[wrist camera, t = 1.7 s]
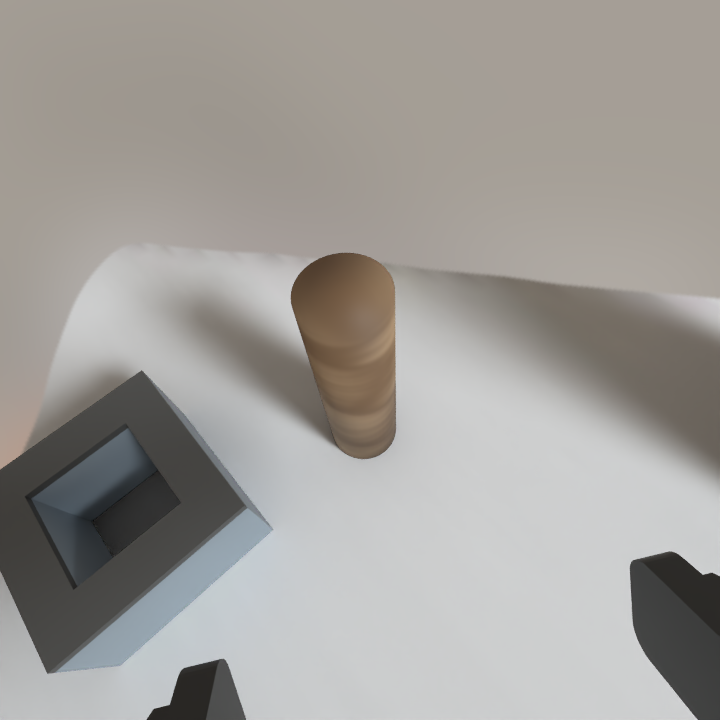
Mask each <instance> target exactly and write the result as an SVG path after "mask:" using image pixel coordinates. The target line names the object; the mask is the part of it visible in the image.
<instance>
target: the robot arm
mask: <svg viewBox="0 0 720 720" xmlns="http://www.w3.org/2000/svg"><path fill="white" fill-rule="evenodd" d="M630 580H631V598H632V616H633V626H634V630H635V633H636V636H637V639H638V641H639V643H640V645H641V647H642V649H643V651H644V653H645V654H646V656H647V657H648V659H649V660H650V661H651V662H652V664H653V665H654V666H655V667H656V669H657V670H658V671H659V672H660V674H661V675H662V676H663V677H664V679H665V680H666V681H667V682H668V683H669V685H670V686H671V687H672V688H673V690H674V691H675V692H676V693H677V695H678V696H679V697H680V698H681V700H682V701H683V702H684V703H685V705H686V706H687V707H688V708H689V709H690V711H691V712H692V713H693V714H694V716H695V717H696V718H697V719H698V720H720V576H718V575H716V574H714V573H709V574H705V575H702V574H701V573H700V572H699V571H697V570H696V569H695V568H694V567H693V566H692V565H690V564H689V563H688V562H687V561H686V560H685V559H683V558H682V557H681V556H680V555H678V554H677V553H675V552H665V553H661V554H657V555H653V556H649V557H645V558H641V559H637V560H633V561H632V562H631V565H630ZM147 720H246V718H245V715H244V712H243V709H242V706H241V703H240V700H239V697H238V693H237V690H236V687H235V684H234V681H233V678H232V675H231V672H230V669H229V666H228V664H227V662H226V661H225V660H224V659H220V660H216V661H211V662H207V663H203V664H199V665H195V666H191V667H187V668H184V669H182V671H181V672H180V674H179V676H178V679H177V683H176V686H175V689H174V693H173V696H172V700H171V703H170V705H168V706H164V707H160V708H156V709H154V710H153V711H152V713H151V714H150V715H149V717H148V718H147Z"/></svg>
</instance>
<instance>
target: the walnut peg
mask: <svg viewBox="0 0 720 720" xmlns="http://www.w3.org/2000/svg"><path fill="white" fill-rule="evenodd" d="M291 304H292V308H293V311H294V314H295V318H296V321H297V324H298V327H299V330H300V333H301V336H302V340H303V343H304V346H305V349H306V352H307V355H308V358H309V362H310V365H311V368H312V371H313V374H314V377H315V380H316V383H317V387H318V390H319V393H320V396H321V399H322V402H323V405H324V409H325V412H326V415H327V418H328V421H329V424H330V427H331V431H332V434H333V437H334V440H335V442H336V444H337V446H338V447H339V448H340V449H341V450H342V451H343V452H344V453H346V454H347V455H349V456H351V457H354V458H358V459H369V458H373V457H376V456H378V455H380V454H382V453H383V452H385V451H386V450H387V449H388V448H389V446H390V445H391V444H392V442H393V440H394V437H395V432H396V383H395V287H394V282H393V280H392V277H391V275H390V274H389V272H388V271H387V270H386V268H385V267H384V266H382V265H381V264H380V263H379V262H377V261H376V260H374V259H372V258H370V257H367V256H364V255H360V254H354V253H338V254H332V255H328V256H325V257H322V258H320V259H318V260H316V261H314V262H313V263H311V264H310V265H308V266H307V267H306V268H305V269H304V270H303V271H302V272H301V273H300V274H299V275H298V277H297V278H296V280H295V282H294V284H293V287H292V291H291Z"/></svg>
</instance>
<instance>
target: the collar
mask: <svg viewBox="0 0 720 720" xmlns="http://www.w3.org/2000/svg"><path fill="white" fill-rule="evenodd" d="M157 470H159V472H160V473H161V475H162V476H163V478H164V479H165V480H166V482H167V483H168V485H169V486H170V488H171V489H172V491H173V492H174V493H175V495H176V496H177V498H178V499H179V501H180V502H181V503H180V504H179V505H177V506H176V507H175V508H174V509H173V510H171V511H170V512H169V513H168V514H166V515H165V516H164V517H163V518H161V519H160V520H159V521H158V522H157V523H155V524H154V525H153V526H152V527H150V528H149V529H148V530H147V531H145V532H144V533H143V534H142V535H141V536H139V537H138V538H137V539H136V540H134V541H133V542H132V543H131V544H129V545H128V546H127V547H126V548H125V549H123V550H122V551H121V552H120V553H118V554H117V555H116V556H115V557H112V556H111V554H110V552H109V551H108V549H107V547H106V545H105V544H104V542H103V540H102V539H101V537H100V535H99V533H98V532H97V530H96V528H95V526H94V525H93V523H92V521H93V520H94V519H95V518H97V517H98V516H99V515H101V514H102V513H103V512H104V511H106V510H107V509H108V508H110V507H111V506H112V505H113V504H115V503H116V502H117V501H119V500H120V499H121V498H122V497H124V496H125V495H126V494H128V493H129V492H130V491H131V490H133V489H134V488H135V487H137V486H138V485H139V484H140V483H142V482H143V481H144V480H146V479H147V478H148V477H149V476H151V475H152V474H153V473H155V472H156V471H157ZM272 530H273V529H272V527H271V526H270V525H269V524H268V522H267V521H266V520H265V518H264V517H263V516H262V515H261V513H260V512H259V511H258V509H257V508H256V507H255V505H254V504H253V503H252V502H251V500H250V499H249V498H248V496H247V495H246V494H245V493H244V491H243V490H242V489H241V487H240V486H239V485H238V484H237V482H236V481H235V480H234V478H233V477H232V476H231V474H230V473H229V472H228V471H227V469H226V468H225V467H224V465H223V464H222V463H221V462H220V460H219V459H218V458H217V456H216V455H215V454H214V453H213V451H212V450H211V449H210V447H209V446H208V445H207V443H206V442H205V441H204V440H203V438H202V437H201V436H200V434H199V433H198V432H197V431H196V429H195V428H194V427H193V425H192V424H191V423H190V422H189V420H188V419H187V418H186V416H185V415H184V414H183V413H182V412H181V411H180V410H179V409H178V407H177V406H176V405H175V404H174V403H173V402H172V401H171V400H170V399H169V398H168V397H167V396H166V395H165V394H164V393H163V392H162V391H161V390H160V389H159V388H158V387H157V386H156V385H155V384H154V383H153V381H152V380H151V379H150V378H149V377H148V376H147V375H146V374H145V373H144V372H143V371H140V372H139V373H137V374H136V375H135V376H133V377H132V378H130V379H129V380H127V381H126V382H125V383H123V384H122V385H120V386H119V387H117V388H116V389H115V390H113V391H112V392H110V393H109V394H107V395H106V396H105V397H103V398H102V399H100V400H99V401H97V402H96V403H95V404H93V405H92V406H90V407H89V408H88V409H86V410H85V411H83V412H82V413H80V414H79V415H78V416H76V417H75V418H73V419H72V420H70V421H69V422H68V423H66V424H65V425H63V426H62V427H60V428H59V429H58V430H56V431H55V432H53V433H52V434H50V435H49V436H48V437H46V438H45V439H43V440H42V441H40V442H39V443H38V444H36V445H35V446H33V447H32V448H30V449H29V450H28V451H26V452H25V453H23V454H22V455H20V456H19V457H18V458H16V459H15V460H13V461H12V462H11V463H9V464H8V465H6V466H5V467H3V468H2V469H1V470H0V571H1V573H2V575H3V577H4V580H5V582H6V584H7V586H8V588H9V590H10V593H11V595H12V597H13V599H14V601H15V604H16V606H17V608H18V610H19V612H20V615H21V617H22V619H23V621H24V623H25V626H26V628H27V630H28V632H29V634H30V637H31V639H32V641H33V643H34V645H35V648H36V650H37V652H38V654H39V656H40V658H41V661H42V663H43V665H44V667H45V669H46V672H47V674H48V673H58V672H67V671H76V670H85V669H94V668H104V667H113V666H120V665H121V664H122V663H123V662H125V661H126V660H127V659H128V658H129V657H130V656H131V655H132V654H134V653H135V652H136V651H137V650H138V649H139V648H140V647H141V646H143V645H144V644H145V643H146V642H147V641H148V640H149V639H150V638H152V637H153V636H154V635H155V634H156V633H157V632H158V631H159V630H161V629H162V628H163V627H164V626H165V625H166V624H167V623H168V622H170V621H171V620H172V619H173V618H174V617H175V616H176V615H178V614H179V613H180V612H181V611H182V610H183V609H184V608H185V607H187V606H188V605H189V604H190V603H191V602H192V601H193V600H194V599H196V598H197V597H198V596H199V595H200V594H201V593H202V592H203V591H205V590H206V589H207V588H208V587H209V586H210V585H211V584H212V583H214V582H215V581H216V580H217V579H218V578H219V577H220V576H221V575H223V574H224V573H225V572H226V571H227V570H228V569H229V568H230V567H232V566H233V565H234V564H235V563H236V562H237V561H238V560H239V559H241V558H242V557H243V556H244V555H245V554H246V553H247V552H248V551H250V550H251V549H252V548H253V547H254V546H255V545H256V544H257V543H259V542H260V541H261V540H262V539H263V538H264V537H265V536H266V535H268V534H269V533H270V532H271V531H272Z"/></svg>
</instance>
